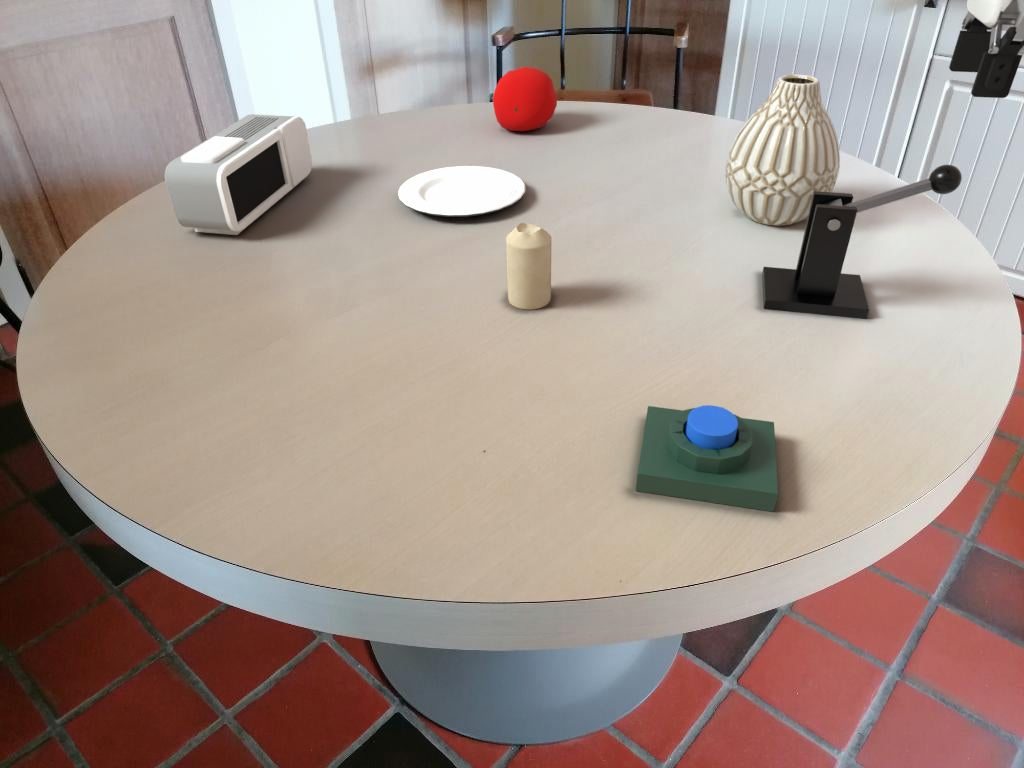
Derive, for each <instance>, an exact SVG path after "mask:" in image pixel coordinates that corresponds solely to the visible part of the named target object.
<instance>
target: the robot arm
mask: <svg viewBox="0 0 1024 768" xmlns="http://www.w3.org/2000/svg"><path fill="white" fill-rule="evenodd" d="M966 9H967V13H966V15H965V16H964V18H963V20H962V23H961V30H959V33H958V37H957V40H956V43H955V46H954V49H953V53H952V55H951V59H950V62H949V67H948V68H949V70H950V71H951V72H954V73H976V76H975V77H974V78H975V79H974V82H973V85H972V88H971V91H970V94H971V95H972V97H974V98H991V99H992V98H993V99H1005V98H1007V97H1008V96H1009V94H1010V91H1011V89H1012V87H1013V83H1014V80H1015V77H1016V75H1017V72H1018V69H1019V66H1020V63H1021V61H1022V58H1023V55H1024V0H966ZM1003 31H1004V34H1003V36H1002V33H1003Z"/></svg>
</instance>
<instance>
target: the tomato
mask: <svg viewBox="0 0 1024 768" xmlns="http://www.w3.org/2000/svg"><path fill="white" fill-rule="evenodd" d="M557 96H558V95H557V93H556V90H555V87H554V83H553V79H552V78H551V76H550V75H549V74H548V73H546V71H543V70H542V69H540V68H537V67H532V66H522V67H518V68H516V69H513V70H508V71H507V72H506V73H505V74H503V76H502V77H500V79H499V80H498V82H497V83H496V86H495V88H494V91H493V97H492V105H493V111H494V115H495V119H496V121H497V122H498V124H499V125H500V127H501V128H502V129H505V130H507V131H508V132H527V131H535V130H537V129H540V128H541V127H543V126H546V125H547V124H548V123H549V121H550V120H551V119H552V118H553V117H554V114H555V111H556V109H557V105H558V101H557V100H558V99H557V98H558V97H557Z"/></svg>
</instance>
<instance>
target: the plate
mask: <svg viewBox="0 0 1024 768" xmlns="http://www.w3.org/2000/svg"><path fill="white" fill-rule="evenodd" d="M525 194H526V184H525V182H524V181H523V180H522V178H520V177H519V176H518V175H516V174H514V173H513V172H509V171H507V170H504V169H501V168H495V167H490V166H479V165H456V166H447V167H440V168H434V169H431V170H427V171H425V172H421V173H418V174H416V175H414V176H412V177H410V178H408V179H407V180H406V181H404V182H403V184H401V185H400V186H399V189H398V192H397V196H398V199H399V201H400V203H402V204H403V205H404V206H406V207H407V208H408V209H411V210H413V211H416V212H418V213H421V214H426V215H430V216H436V217H447V218H470V217H478V216H483V215H486V214H490V213H495V212H500V211H501V210H504V209H506V208H509V207H511V206H513V205H514V204H515V203H517V202H519V201H520V200H521V199H522V198H523V196H524V195H525Z"/></svg>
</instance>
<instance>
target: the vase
mask: <svg viewBox="0 0 1024 768" xmlns="http://www.w3.org/2000/svg"><path fill="white" fill-rule="evenodd" d="M820 84H821V83H820V80H819V78H817V77H815V76H812V75H807V74H796V73H795V74H785V75H781V76H780V77H778V79H777V80H776V82H775V84H774V87H773V88H772V91H771V92H770V94H769V96H768V97H767V98H766V100H765V101H764V102H763V103H762V104H761V105H760V106H759V107H758V108H757V109H756V110H755V111H754V112H753V113H752V114H751V115H750V117H749V118H748V119H747V120H746V122H745V123H744V124H743V125H742V126H741V128H740V130H739V132H738V133H737V135H736V137H735V139H734V140H733V143H732V145H731V147H730V150H729V153H728V155H727V159H726V163H725V164H726V165H725V183H726V188H727V192H728V195H729V197H730V199H731V201H732V203H733V204H734V206H735V207H736V209H738V211H739V212H740V213H741V214H743V216H745V217H746V218H747V219H749V220H751V221H752V222H755V223H758V224H762V225H766V226H767V225H768V226H777V227H778V226H779V227H781V226H782V227H783V226H789V225H795V224H797V223H799V222H801V221H803V220H806V219H808V214H809V210H810V205H811V201H812V197H813V192H814V191H819V192H833V191H834V188H835V186H836V184H837V181H838V178H839V173H840V168H841V155H840V145H839V139H838V135H837V132H836V130H835V129H836V128H835V126H834V124H833V122H832V119H831V117H830V115H829V113H828V111H827V110H826V108H825V106H824V103H823V99H822V93H821V85H820Z"/></svg>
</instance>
